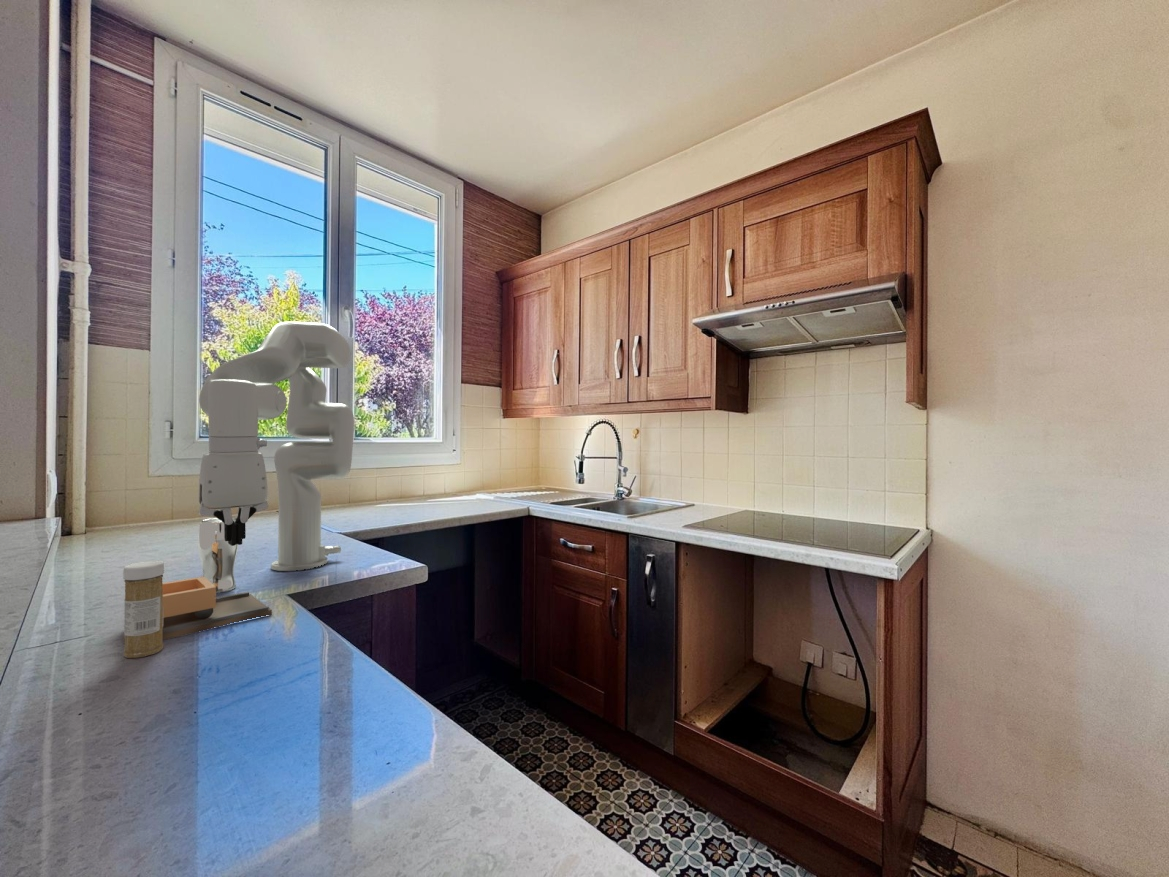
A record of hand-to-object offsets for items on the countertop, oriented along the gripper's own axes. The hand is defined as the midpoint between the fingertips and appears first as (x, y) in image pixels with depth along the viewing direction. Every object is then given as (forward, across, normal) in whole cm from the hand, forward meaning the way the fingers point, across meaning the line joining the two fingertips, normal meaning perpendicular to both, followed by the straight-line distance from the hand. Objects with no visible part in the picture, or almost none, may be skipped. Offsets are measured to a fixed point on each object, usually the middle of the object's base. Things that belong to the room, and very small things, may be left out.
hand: (235, 543), depth 92 cm
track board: (+12, +5, +1) cm, 14 cm away
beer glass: (+13, -1, -18) cm, 22 cm away
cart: (+11, +9, +1) cm, 15 cm away
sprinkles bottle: (+12, +14, +12) cm, 22 cm away
